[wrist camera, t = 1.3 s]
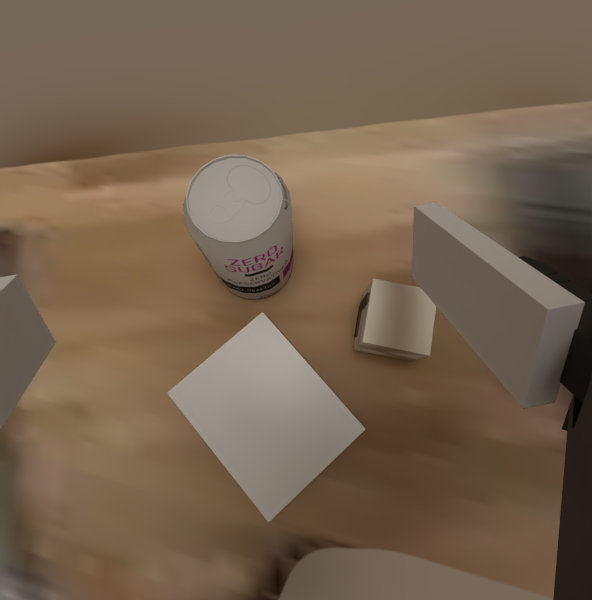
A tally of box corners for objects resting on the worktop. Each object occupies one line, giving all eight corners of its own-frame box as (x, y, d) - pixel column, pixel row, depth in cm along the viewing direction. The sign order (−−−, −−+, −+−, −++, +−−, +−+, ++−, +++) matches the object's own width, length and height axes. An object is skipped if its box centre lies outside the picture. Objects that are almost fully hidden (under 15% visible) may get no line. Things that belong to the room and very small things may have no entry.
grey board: (362, 427, 39) (365, 429, 37) (269, 515, 37) (268, 522, 35) (264, 315, 42) (262, 311, 40) (173, 393, 40) (167, 393, 38)
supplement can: (253, 215, 44) (232, 127, 30) (308, 262, 43) (314, 194, 29) (202, 266, 43) (153, 200, 28) (257, 316, 42) (236, 273, 27)
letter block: (418, 305, 42) (438, 291, 36) (410, 361, 41) (430, 355, 35) (360, 294, 42) (371, 277, 36) (351, 349, 41) (360, 341, 35)
